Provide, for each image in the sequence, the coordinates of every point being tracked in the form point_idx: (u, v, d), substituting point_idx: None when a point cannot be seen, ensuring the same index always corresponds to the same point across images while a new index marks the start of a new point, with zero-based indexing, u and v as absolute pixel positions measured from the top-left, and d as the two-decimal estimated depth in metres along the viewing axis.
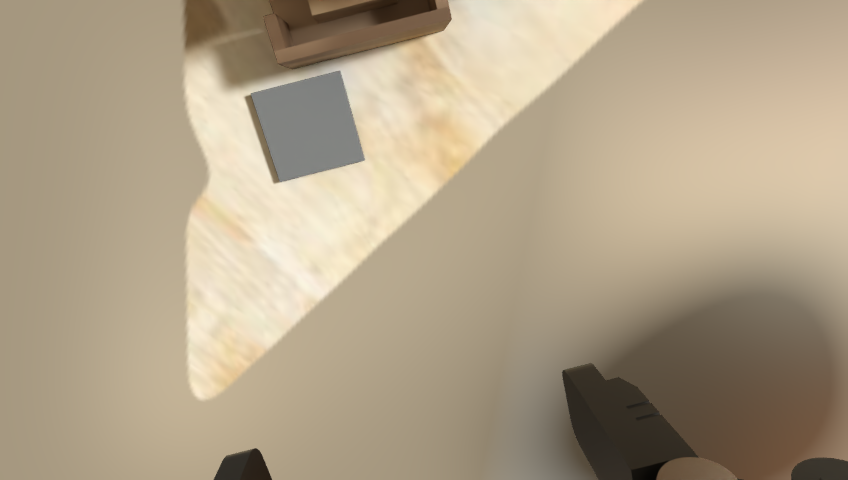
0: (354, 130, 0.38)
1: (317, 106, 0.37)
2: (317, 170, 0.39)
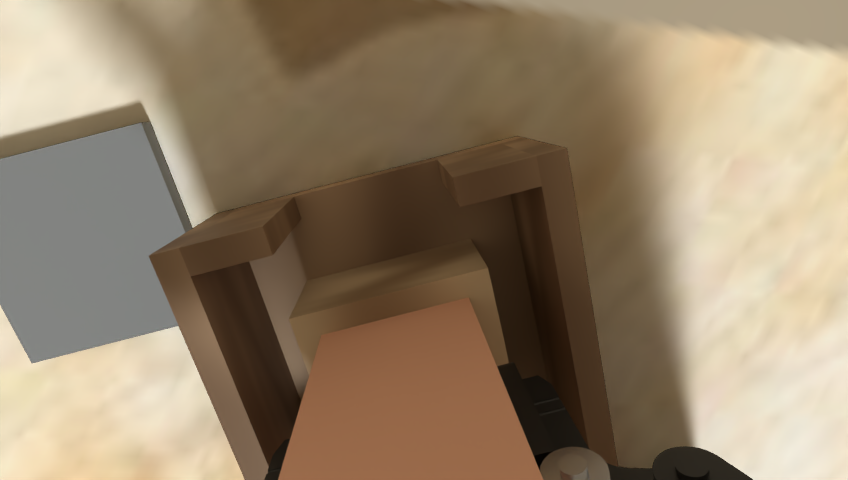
0: (95, 343, 0.17)
1: (135, 270, 0.17)
2: None
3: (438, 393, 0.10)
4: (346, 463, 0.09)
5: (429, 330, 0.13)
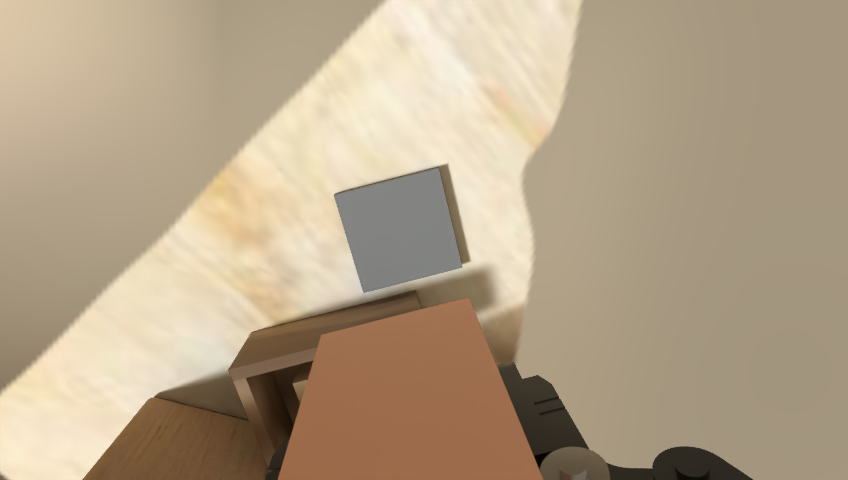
0: (346, 230, 0.32)
1: (388, 255, 0.33)
2: (392, 182, 0.31)
3: (438, 392, 0.10)
4: (346, 463, 0.09)
5: (429, 330, 0.13)
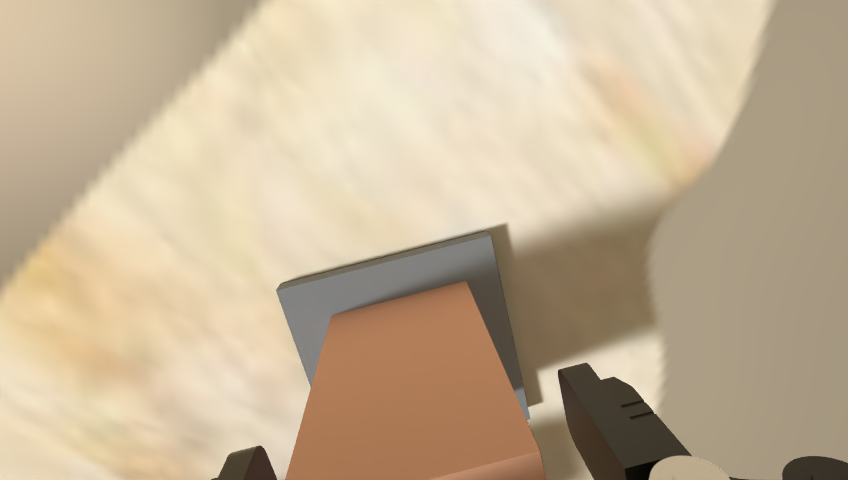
0: (303, 356, 0.16)
1: None
2: (395, 264, 0.15)
3: (438, 359, 0.11)
4: (358, 416, 0.10)
5: (430, 309, 0.14)
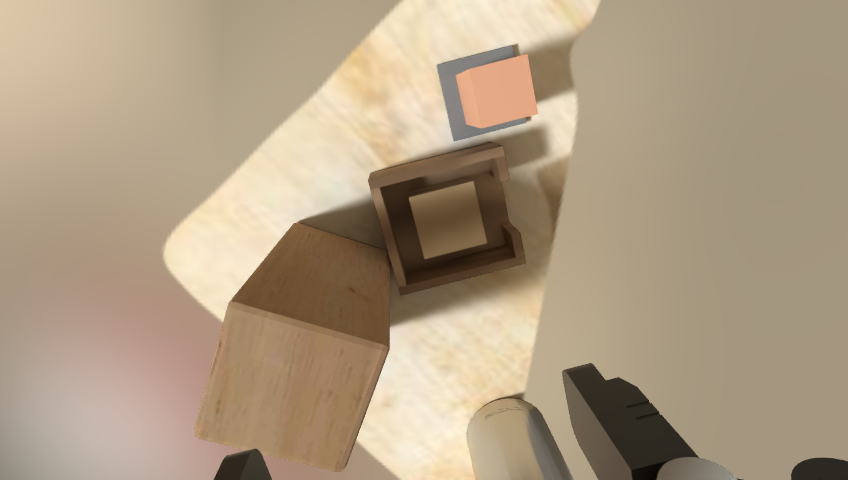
0: (444, 91, 0.44)
1: None
2: (478, 55, 0.44)
3: None
4: None
5: None
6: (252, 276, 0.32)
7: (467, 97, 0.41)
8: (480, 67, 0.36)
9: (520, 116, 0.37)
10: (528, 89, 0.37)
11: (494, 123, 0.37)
